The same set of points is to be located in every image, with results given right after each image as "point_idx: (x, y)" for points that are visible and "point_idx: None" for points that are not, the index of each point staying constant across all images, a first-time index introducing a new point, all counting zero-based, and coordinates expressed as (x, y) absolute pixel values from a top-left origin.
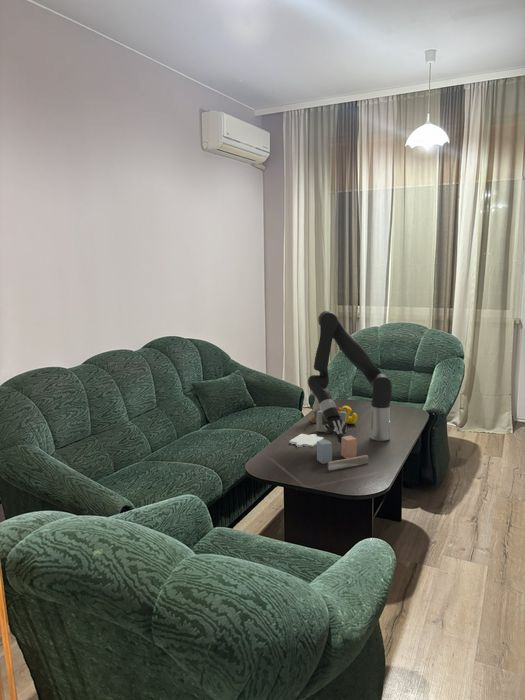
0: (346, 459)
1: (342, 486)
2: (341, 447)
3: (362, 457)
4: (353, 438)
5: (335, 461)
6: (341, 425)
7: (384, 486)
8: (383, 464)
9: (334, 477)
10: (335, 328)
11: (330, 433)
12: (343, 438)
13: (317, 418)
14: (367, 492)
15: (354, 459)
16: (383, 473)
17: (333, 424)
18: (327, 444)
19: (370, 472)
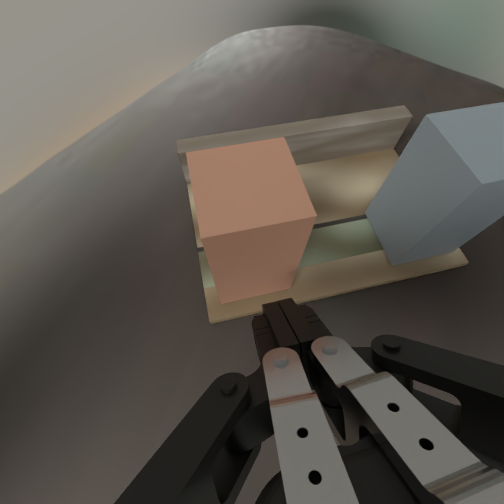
0: (309, 125)
1: (351, 60)
2: (298, 263)
3: (214, 135)
4: (211, 162)
5: (372, 116)
6: None
7: (220, 44)
8: (115, 167)
9: (368, 107)
10: None
11: (436, 398)
12: (304, 187)
13: None
14: (285, 29)
15: (264, 130)
16: (171, 104)
17: (489, 479)
18: (461, 113)
19: (215, 117)
